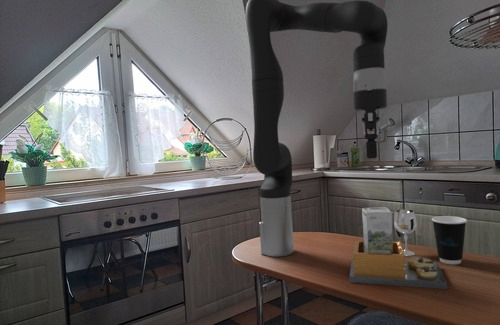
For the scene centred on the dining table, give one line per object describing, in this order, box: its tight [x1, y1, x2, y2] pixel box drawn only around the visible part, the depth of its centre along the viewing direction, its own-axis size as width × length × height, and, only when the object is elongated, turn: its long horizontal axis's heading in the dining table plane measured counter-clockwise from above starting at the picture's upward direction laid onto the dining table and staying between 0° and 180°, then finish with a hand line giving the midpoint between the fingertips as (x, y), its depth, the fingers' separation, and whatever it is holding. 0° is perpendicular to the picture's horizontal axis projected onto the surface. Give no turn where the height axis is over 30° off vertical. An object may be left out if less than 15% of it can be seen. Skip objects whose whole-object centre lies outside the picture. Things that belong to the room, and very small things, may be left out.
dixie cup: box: [431, 215, 468, 265], centre depth 91 cm, size 8×8×11 cm
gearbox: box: [348, 240, 448, 290], centre depth 85 cm, size 20×13×6 cm, turn 71°
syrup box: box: [361, 206, 393, 254], centre depth 85 cm, size 6×6×14 cm
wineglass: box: [393, 208, 417, 257], centre depth 99 cm, size 6×6×12 cm
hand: (372, 157), depth 86 cm, fingers open, 8 cm apart
